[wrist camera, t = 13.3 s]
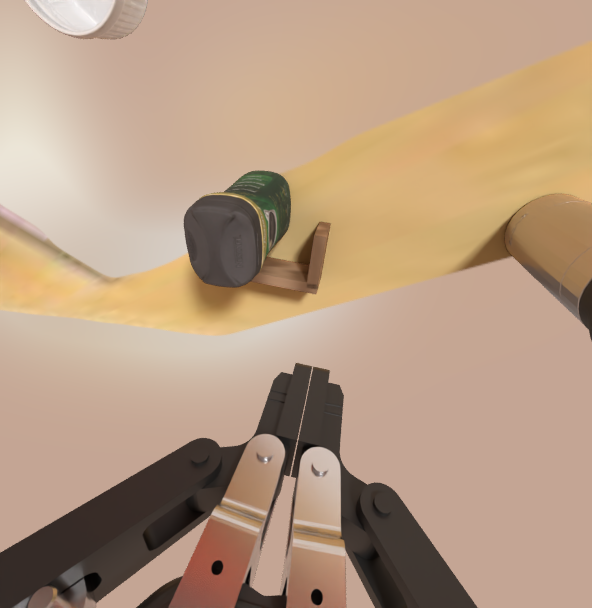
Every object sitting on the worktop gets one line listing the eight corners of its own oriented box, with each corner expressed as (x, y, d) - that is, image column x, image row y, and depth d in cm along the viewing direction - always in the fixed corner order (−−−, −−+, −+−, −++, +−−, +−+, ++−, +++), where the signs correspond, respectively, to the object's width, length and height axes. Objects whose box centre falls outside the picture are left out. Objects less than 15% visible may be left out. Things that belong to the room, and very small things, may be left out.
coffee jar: (237, 168, 43) (167, 198, 28) (292, 171, 42) (250, 204, 27) (242, 234, 48) (185, 290, 33) (291, 238, 47) (255, 299, 32)
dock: (330, 223, 45) (326, 237, 40) (321, 276, 50) (316, 294, 45) (210, 202, 47) (192, 213, 42) (212, 255, 51) (196, 270, 46)
